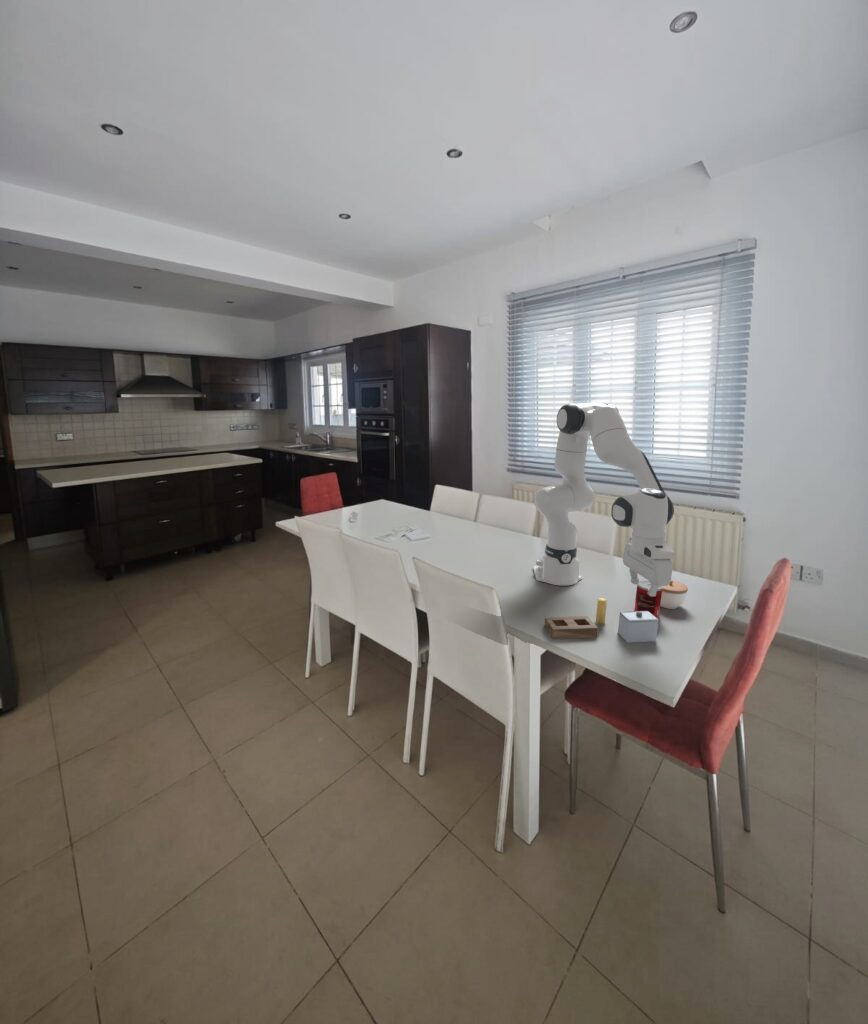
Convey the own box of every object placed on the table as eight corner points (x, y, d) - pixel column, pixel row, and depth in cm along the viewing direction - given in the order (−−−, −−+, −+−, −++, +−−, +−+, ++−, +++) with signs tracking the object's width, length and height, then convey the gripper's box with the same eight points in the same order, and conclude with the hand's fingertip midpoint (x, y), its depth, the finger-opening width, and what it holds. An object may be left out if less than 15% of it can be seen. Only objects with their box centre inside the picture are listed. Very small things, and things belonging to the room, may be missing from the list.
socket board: (544, 626, 146) (544, 617, 146) (586, 624, 148) (587, 616, 147) (552, 638, 139) (553, 629, 138) (597, 636, 140) (598, 627, 139)
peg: (594, 620, 150) (596, 598, 148) (602, 620, 150) (604, 597, 149) (597, 624, 147) (600, 601, 146) (606, 624, 148) (608, 601, 146)
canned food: (651, 610, 158) (655, 580, 156) (663, 620, 151) (667, 589, 148) (629, 610, 158) (633, 580, 156) (640, 620, 150) (644, 589, 148)
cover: (617, 632, 142) (620, 608, 141) (645, 631, 143) (648, 607, 141) (627, 642, 137) (630, 617, 135) (656, 641, 137) (659, 616, 135)
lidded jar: (666, 613, 156) (669, 587, 154) (644, 600, 166) (647, 576, 164) (692, 610, 159) (695, 584, 156) (669, 597, 169) (672, 573, 166)
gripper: (619, 535, 143) (615, 577, 146) (656, 555, 123) (651, 603, 126) (639, 535, 143) (634, 576, 146) (678, 554, 124) (673, 602, 127)
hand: (642, 589), depth 136 cm, fingers open, 8 cm apart
